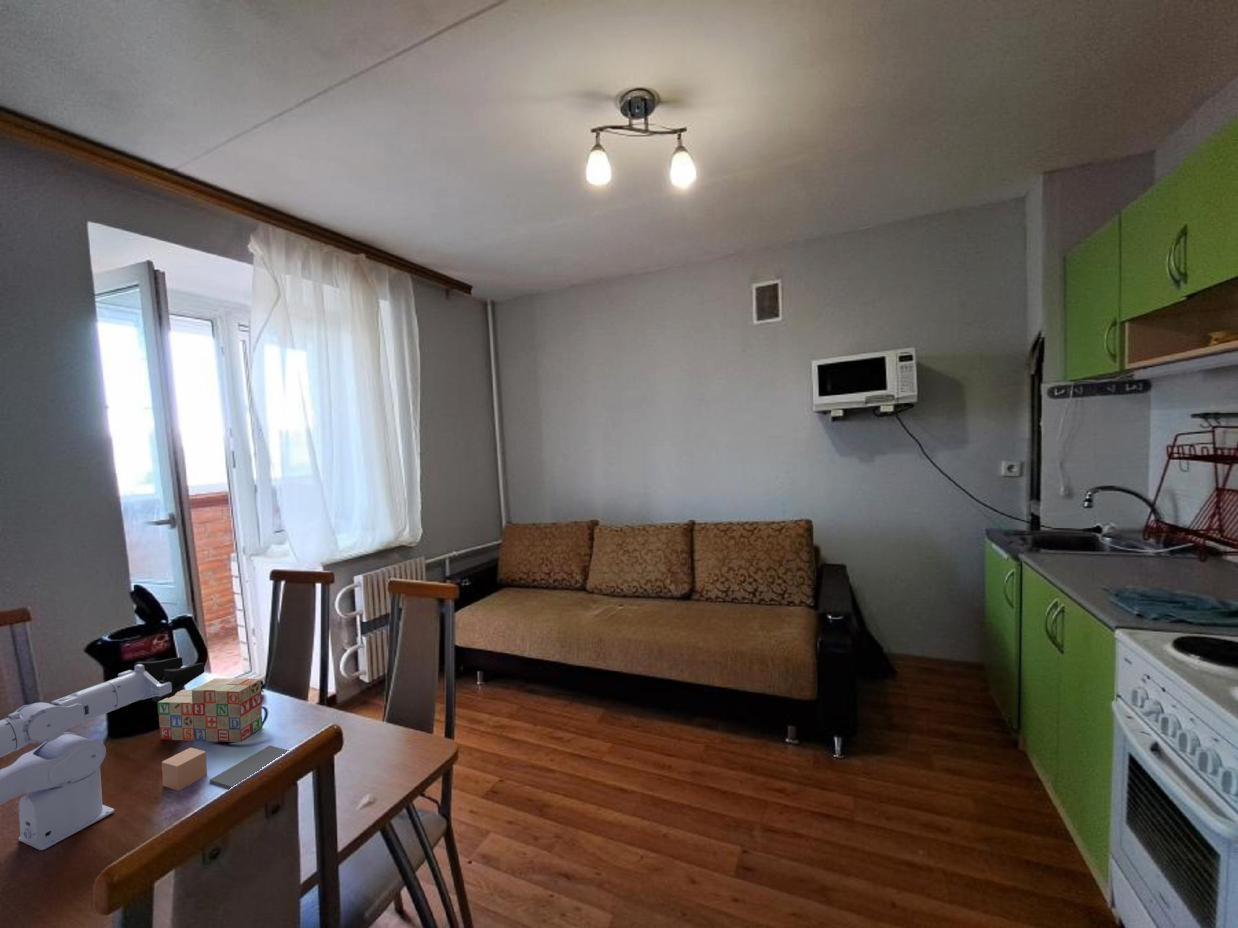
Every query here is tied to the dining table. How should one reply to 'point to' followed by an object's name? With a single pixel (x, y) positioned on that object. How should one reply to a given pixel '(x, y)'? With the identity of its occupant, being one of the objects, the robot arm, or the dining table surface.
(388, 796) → the dining table surface
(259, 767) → the charcoal mat
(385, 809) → the dining table surface
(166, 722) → the stack of blocks
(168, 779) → the tan cube
